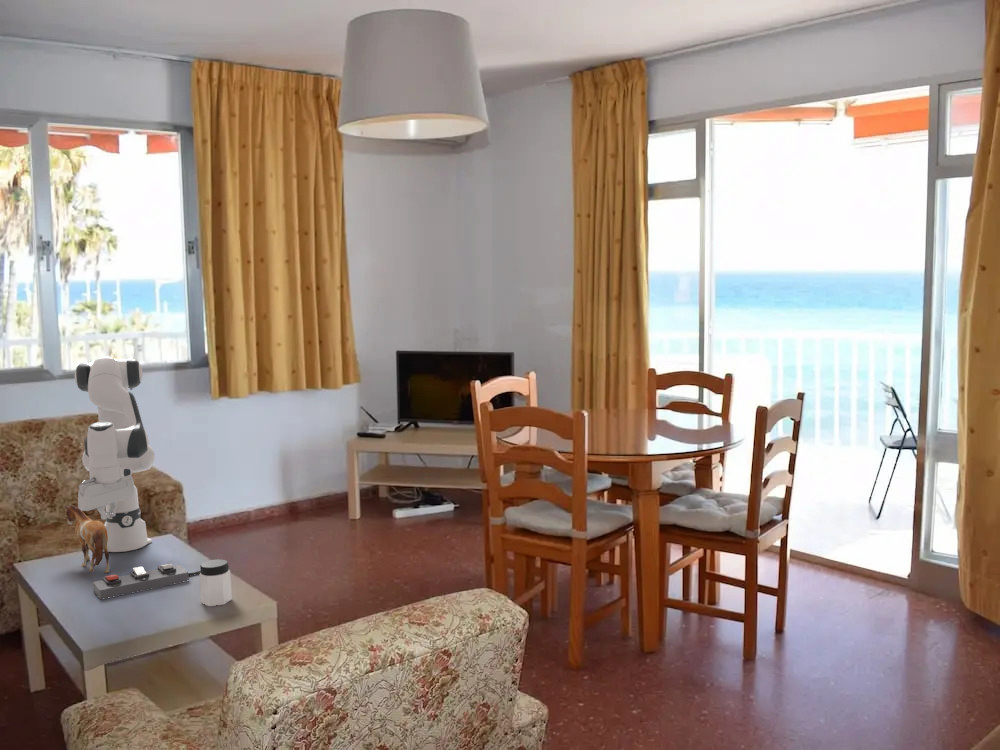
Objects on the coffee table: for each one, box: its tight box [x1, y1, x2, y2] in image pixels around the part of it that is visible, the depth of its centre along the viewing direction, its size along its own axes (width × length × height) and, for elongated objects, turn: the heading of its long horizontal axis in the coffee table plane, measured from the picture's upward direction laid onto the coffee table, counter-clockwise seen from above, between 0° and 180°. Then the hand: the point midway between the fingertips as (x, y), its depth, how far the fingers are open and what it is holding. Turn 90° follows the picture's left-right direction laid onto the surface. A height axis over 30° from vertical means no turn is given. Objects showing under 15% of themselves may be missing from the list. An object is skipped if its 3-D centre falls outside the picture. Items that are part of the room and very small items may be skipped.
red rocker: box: [104, 574, 119, 581], centre depth 293 cm, size 5×3×2 cm, turn 35°
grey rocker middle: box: [132, 566, 146, 576], centre depth 298 cm, size 5×3×2 cm, turn 35°
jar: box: [198, 558, 233, 607], centre depth 281 cm, size 9×8×12 cm
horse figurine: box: [63, 504, 111, 574], centre depth 316 cm, size 31×8×21 cm, turn 39°
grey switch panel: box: [92, 564, 201, 600], centre depth 299 cm, size 10×34×4 cm, turn 125°
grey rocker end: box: [159, 563, 174, 570], centre depth 303 cm, size 5×3×2 cm, turn 35°
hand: (108, 517), depth 290 cm, fingers closed
